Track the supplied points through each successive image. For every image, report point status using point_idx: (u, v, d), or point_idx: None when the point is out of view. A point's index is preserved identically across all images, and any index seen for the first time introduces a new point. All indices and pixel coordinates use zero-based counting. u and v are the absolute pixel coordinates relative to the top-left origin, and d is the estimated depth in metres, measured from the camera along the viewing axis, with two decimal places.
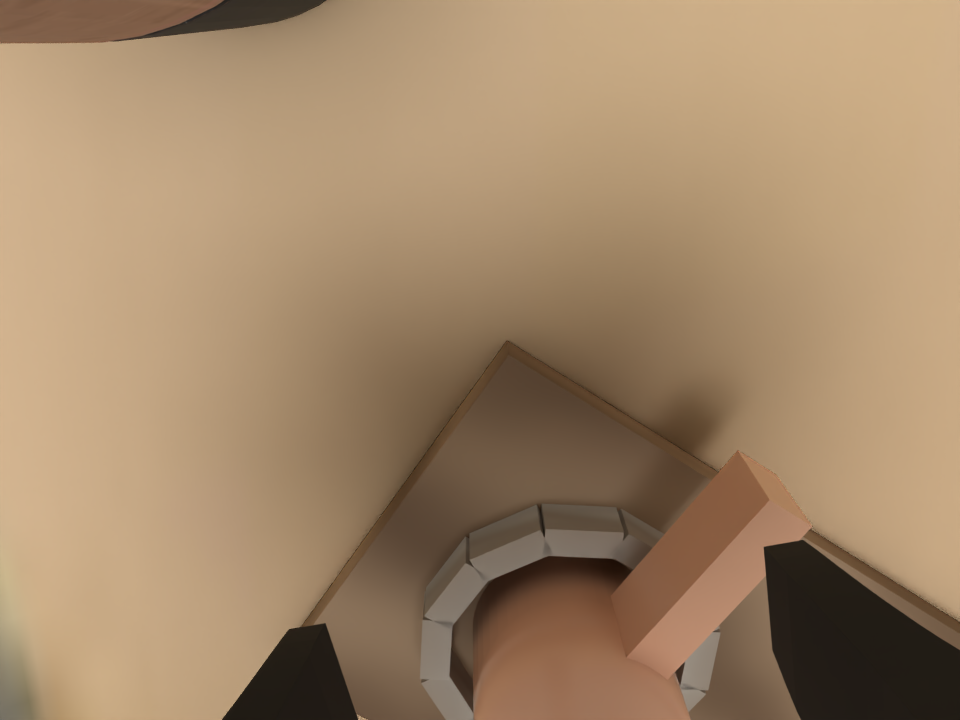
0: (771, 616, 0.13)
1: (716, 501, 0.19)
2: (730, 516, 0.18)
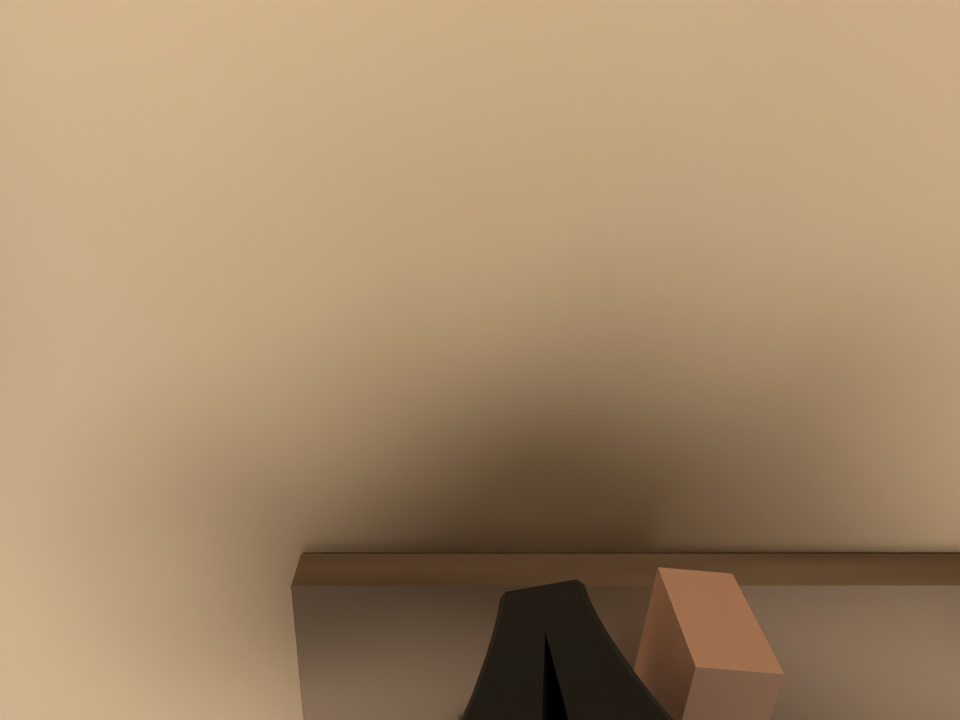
0: None
1: (654, 657, 0.12)
2: (669, 689, 0.12)
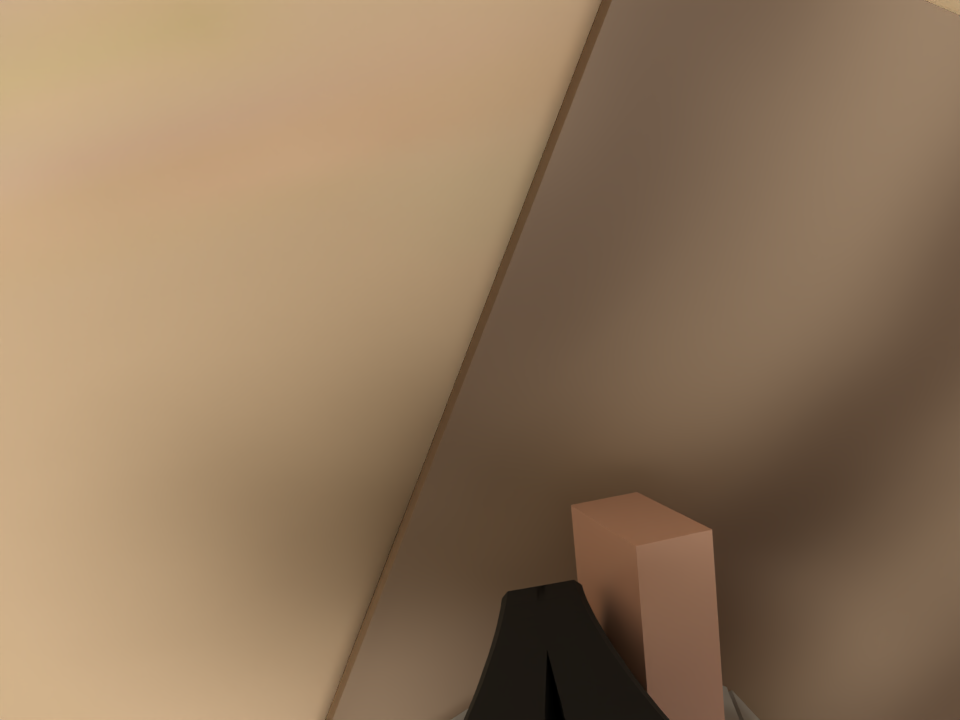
0: None
1: (596, 587, 0.13)
2: (619, 597, 0.12)
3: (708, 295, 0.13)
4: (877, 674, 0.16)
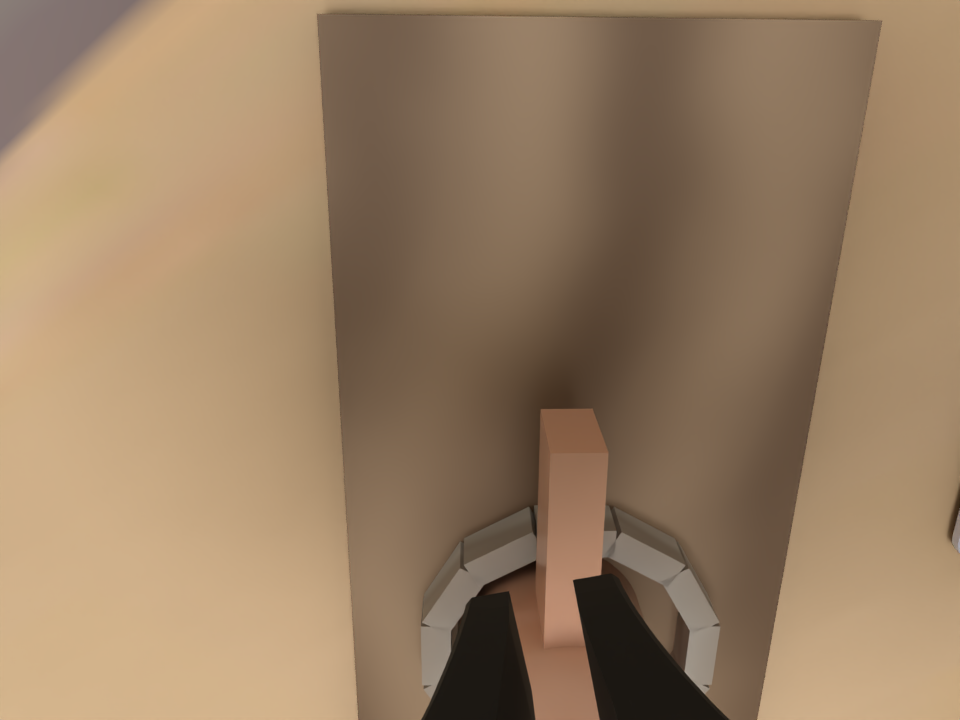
0: None
1: (542, 468, 0.19)
2: (545, 479, 0.18)
3: (466, 243, 0.19)
4: (713, 464, 0.21)
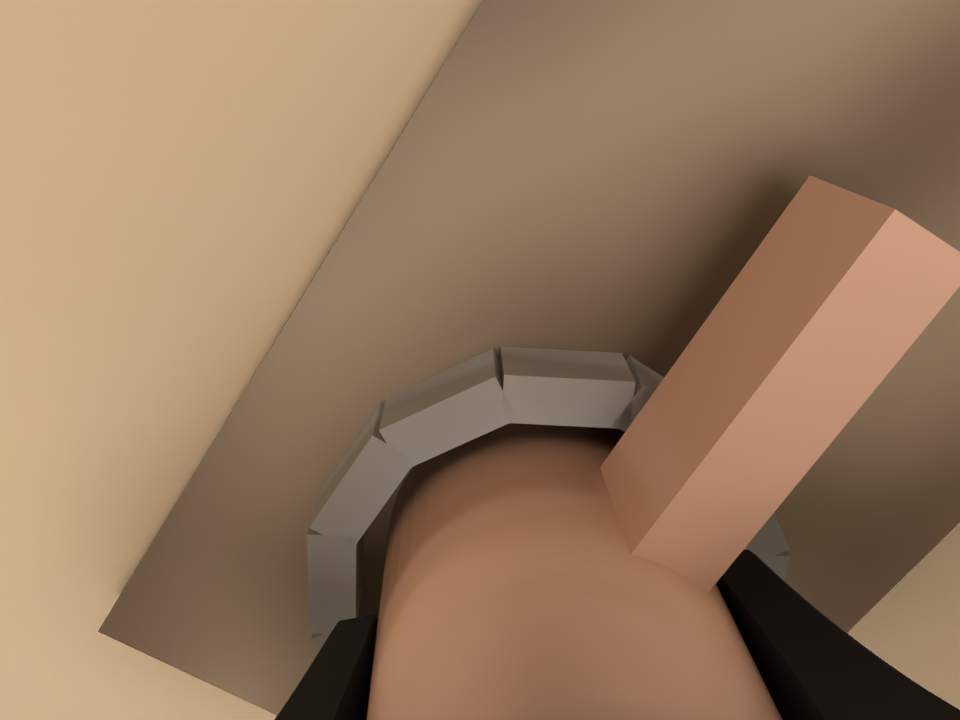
0: None
1: (778, 262, 0.10)
2: (811, 270, 0.10)
3: None
4: (886, 435, 0.14)
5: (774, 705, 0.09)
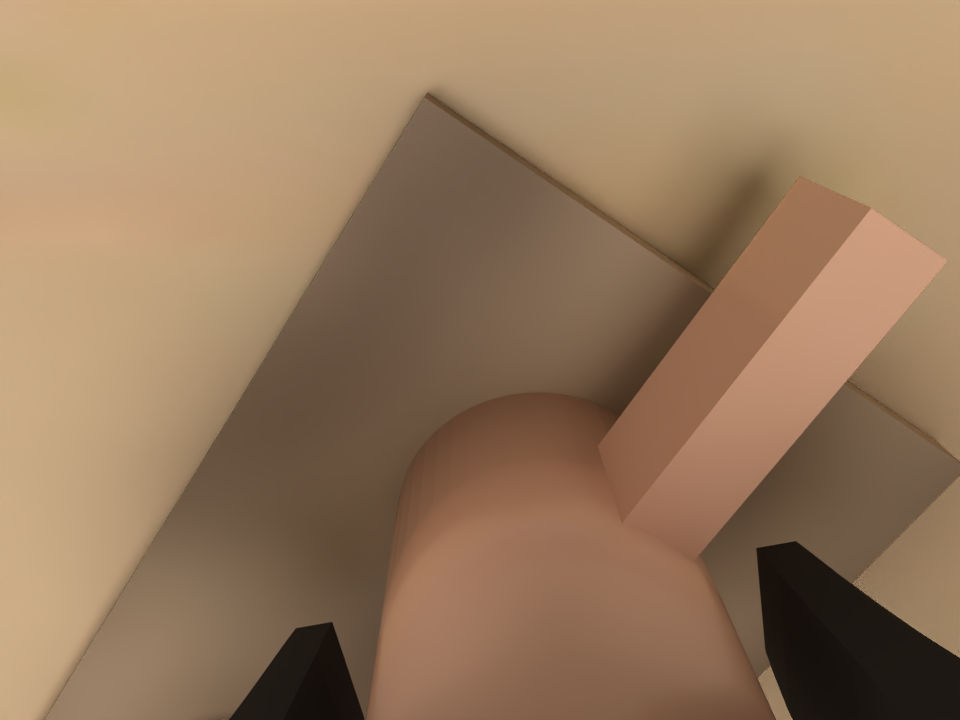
0: (764, 617, 0.13)
1: (766, 257, 0.11)
2: (795, 263, 0.10)
3: (427, 432, 0.15)
4: None
5: (749, 663, 0.10)
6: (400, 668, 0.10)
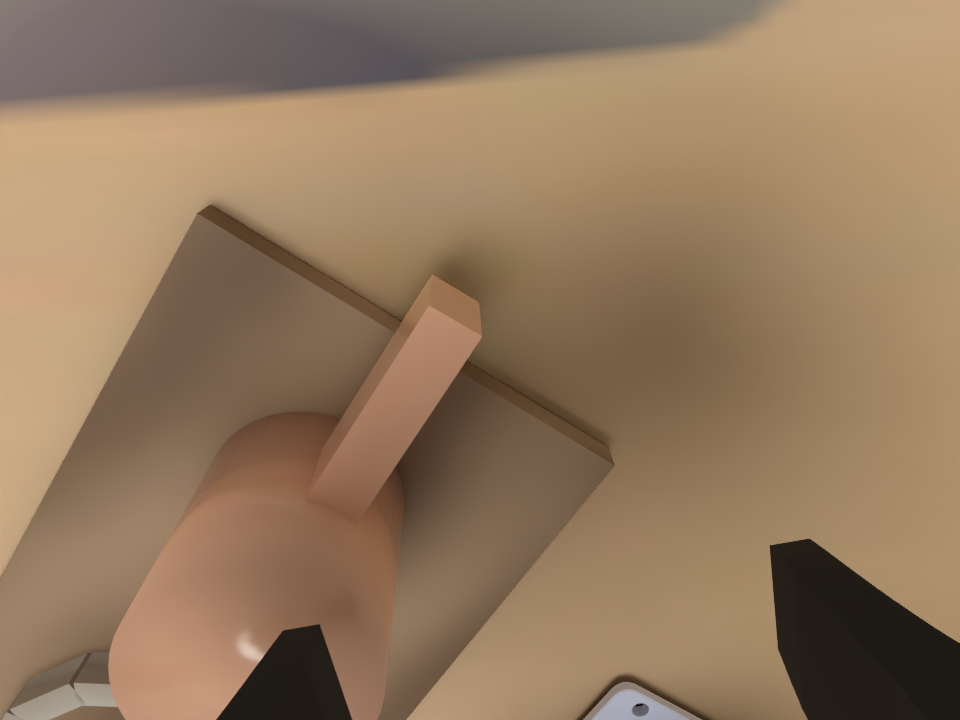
0: (777, 615, 0.13)
1: (403, 327, 0.17)
2: (404, 335, 0.16)
3: (223, 440, 0.21)
4: None
5: (368, 586, 0.16)
6: (142, 586, 0.16)
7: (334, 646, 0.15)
